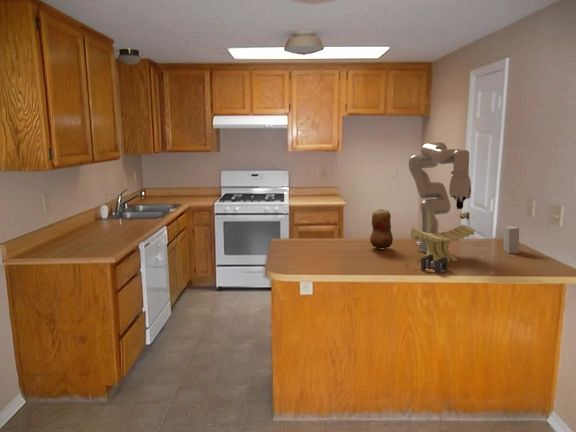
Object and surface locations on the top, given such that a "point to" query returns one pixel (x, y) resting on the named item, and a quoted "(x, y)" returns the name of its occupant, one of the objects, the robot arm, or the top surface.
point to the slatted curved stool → (441, 240)
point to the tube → (433, 265)
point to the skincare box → (511, 239)
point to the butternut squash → (381, 229)
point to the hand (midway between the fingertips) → (459, 208)
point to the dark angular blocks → (437, 264)
